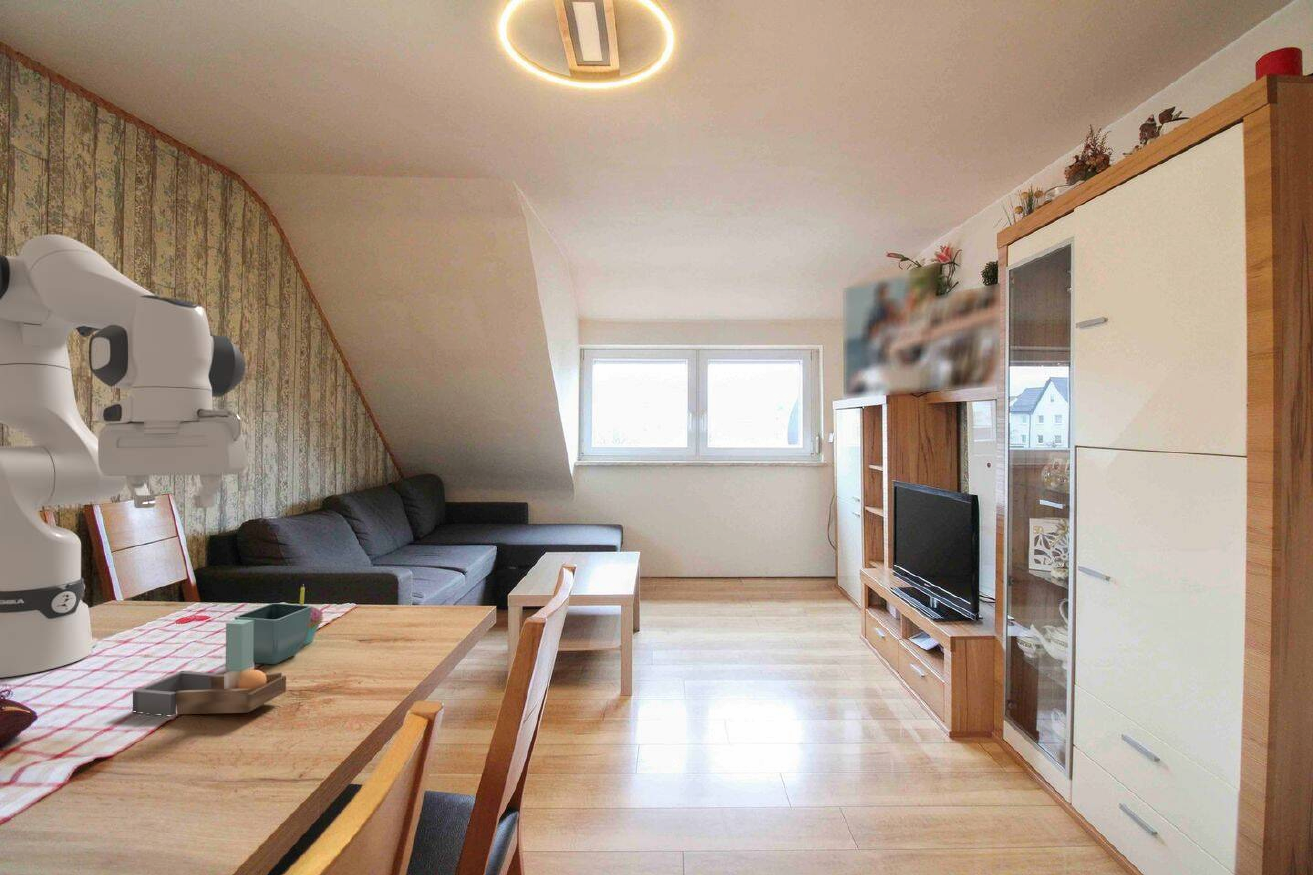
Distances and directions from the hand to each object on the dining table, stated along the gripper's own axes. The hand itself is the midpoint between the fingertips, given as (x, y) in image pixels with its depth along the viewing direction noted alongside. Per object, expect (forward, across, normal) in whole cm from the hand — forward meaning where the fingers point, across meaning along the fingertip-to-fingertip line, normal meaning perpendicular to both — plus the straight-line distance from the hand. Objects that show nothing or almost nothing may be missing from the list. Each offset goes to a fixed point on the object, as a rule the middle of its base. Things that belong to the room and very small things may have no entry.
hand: (174, 507), depth 82 cm
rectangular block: (+29, -4, -6) cm, 30 cm away
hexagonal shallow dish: (+31, -3, -6) cm, 32 cm away
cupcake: (+31, +7, -33) cm, 46 cm away
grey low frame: (+31, +7, -6) cm, 32 cm away
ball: (+27, -6, -6) cm, 28 cm away
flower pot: (+31, +6, -24) cm, 40 cm away
